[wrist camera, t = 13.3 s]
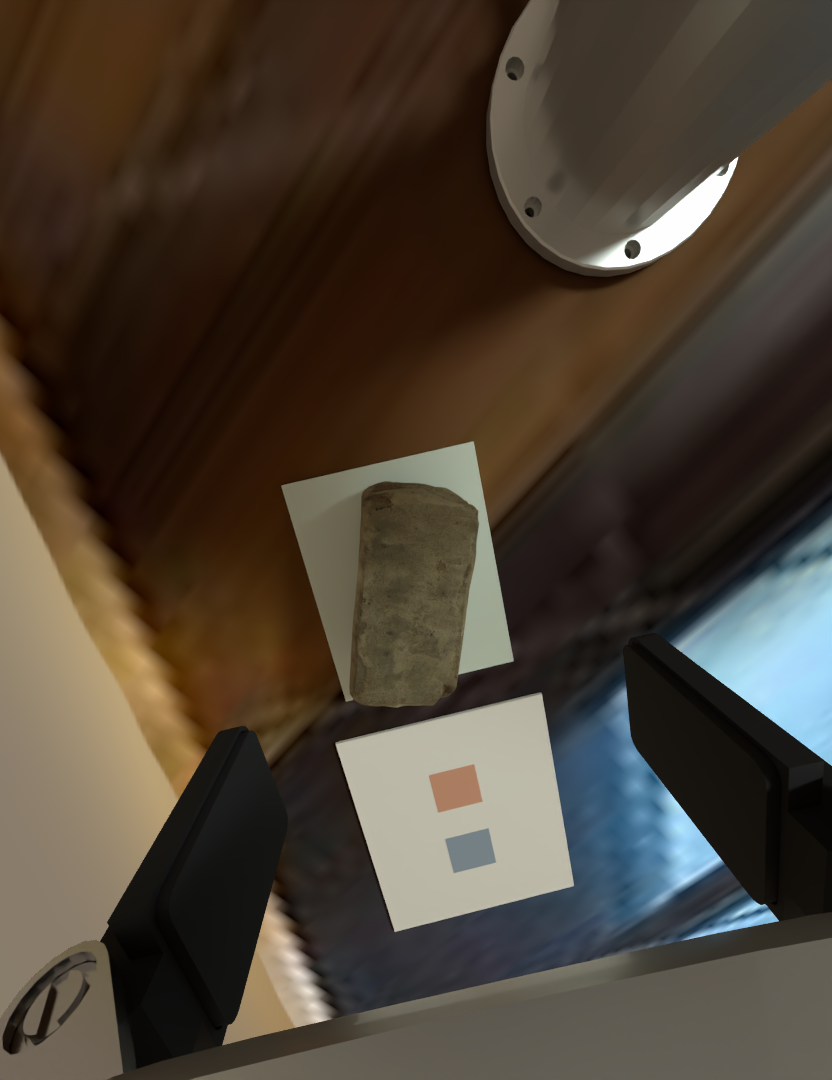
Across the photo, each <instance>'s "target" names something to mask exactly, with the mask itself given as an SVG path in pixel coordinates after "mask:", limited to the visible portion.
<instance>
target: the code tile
mask: <svg viewBox="0 0 832 1080" xmlns="http://www.w3.org/2000/svg"><path fill="white" fill-rule="evenodd" d="M336 747H337V750H338V753H339V757H340V760H341V763H342V766H343V769H344V772H345V776H346V779H347V782H348V785H349V788H350V791H351V795H352V798H353V801H354V804H355V807H356V810H357V814H358V817H359V820H360V823H361V826H362V829H363V833H364V836H365V839H366V842H367V845H368V848H369V852H370V855H371V858H372V861H373V864H374V867H375V871H376V874H377V877H378V880H379V883H380V886H381V889H382V893H383V896H384V899H385V902H386V905H387V908H388V912H389V915H390V918H391V921H392V924H393V927H394V931H395V932H396V931H400V930H404V929H408V928H412V927H416V926H420V925H423V924H427V923H431V922H435V921H439V920H443V919H447V918H451V917H455V916H459V915H462V914H466V913H470V912H474V911H478V910H482V909H486V908H490V907H494V906H498V905H501V904H505V903H509V902H513V901H517V900H521V899H525V898H529V897H533V896H537V895H540V894H544V893H548V892H552V891H556V890H560V889H564V888H568V887H572V886H574V883H573V877H572V871H571V865H570V859H569V853H568V847H567V841H566V835H565V829H564V823H563V817H562V811H561V806H560V800H559V794H558V788H557V782H556V776H555V770H554V764H553V758H552V752H551V746H550V740H549V734H548V728H547V722H546V716H545V710H544V704H543V698H542V693H541V692H539V693H535V694H531V695H527V696H523V697H519V698H515V699H511V700H507V701H502V702H498V703H494V704H490V705H486V706H482V707H478V708H474V709H470V710H466V711H462V712H457V713H453V714H449V715H445V716H441V717H437V718H433V719H429V720H425V721H421V722H417V723H413V724H408V725H404V726H400V727H396V728H392V729H388V730H384V731H380V732H376V733H372V734H368V735H363V736H359V737H355V738H351V739H347V740H343V741H339V742H336Z"/></svg>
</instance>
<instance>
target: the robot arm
mask: <svg viewBox="0 0 832 1080" xmlns="http://www.w3.org/2000/svg"><path fill="white" fill-rule="evenodd" d="M831 79H832V0H530V1H529V2H528V4H527V5H526V7H525V8H524V10H523V11H522V13H521V15H520V16H519V18H518V19H517V21H516V22H515V24H514V25H513V27H512V30H511V32H510V34H509V37H508V39H507V41H506V44H505V46H504V48H503V51H502V53H501V55H500V59H499V62H498V65H497V69H496V72H495V76H494V79H493V83H492V86H491V92H490V98H489V104H488V110H487V116H486V148H487V155H488V161H489V168H490V175H491V178H492V181H493V184H494V187H495V190H496V193H497V196H498V199H499V202H500V204H501V206H502V208H503V209H504V211H505V213H506V215H507V217H508V219H509V221H510V223H511V224H512V226H513V227H514V228H515V230H516V231H517V232H518V233H519V235H520V236H521V237H522V238H523V240H524V241H525V242H526V244H528V245H529V246H530V247H531V248H532V249H533V250H535V251H536V252H537V253H538V254H539V255H541V256H542V257H543V258H544V259H546V260H547V261H549V262H551V263H553V264H555V265H557V266H559V267H560V268H562V269H564V270H567V271H571V272H574V273H578V274H581V275H585V276H600V277H610V276H616V275H622V274H628V273H631V272H634V271H636V270H639V269H642V268H644V267H647V266H649V265H651V264H653V263H654V262H656V261H658V260H659V259H661V258H662V257H664V256H665V255H667V254H669V253H670V252H672V251H673V250H674V249H675V248H677V247H678V246H679V245H681V244H682V243H683V242H684V241H686V240H687V239H688V238H690V237H691V236H692V235H693V234H694V233H695V232H696V230H697V229H698V228H699V227H700V226H701V225H702V224H703V223H704V222H705V220H706V219H707V218H708V217H709V216H710V214H711V213H712V211H713V210H714V208H715V206H716V205H717V203H718V202H719V200H720V199H721V197H722V196H723V194H724V192H725V190H726V188H727V186H728V184H729V182H730V179H731V177H732V175H733V173H734V170H735V168H736V164H737V160H738V157H739V156H740V155H741V154H742V153H743V152H745V151H746V150H747V149H748V148H749V147H751V146H752V145H753V144H754V143H755V142H757V141H758V140H759V139H760V138H761V137H763V136H764V135H765V134H766V133H767V132H769V131H770V130H771V129H772V128H773V127H775V126H776V125H777V124H778V123H779V122H781V121H782V120H783V119H784V118H785V117H787V116H788V115H789V114H790V113H791V112H793V111H794V110H795V109H796V108H797V107H799V106H800V105H801V104H802V103H803V102H805V101H806V100H807V99H808V98H810V97H811V96H812V95H813V94H814V93H816V92H817V91H818V90H819V89H820V88H822V87H823V86H824V85H825V84H826V83H828V82H829V81H830V80H831ZM526 213H529V214H530V216H531V217H529V216H528V215H527V214H526ZM625 255H626V256H625ZM623 654H624V665H625V676H626V687H627V698H628V710H629V721H630V732H631V737H632V740H633V743H634V745H635V747H636V749H637V750H638V752H639V753H640V754H641V756H642V757H643V758H644V759H645V761H646V762H647V763H648V765H649V766H650V767H651V768H652V770H653V771H654V772H655V774H656V775H657V776H658V778H659V779H660V780H661V781H662V783H663V784H664V785H665V787H666V788H667V789H668V790H669V792H670V793H671V794H672V796H673V797H674V798H675V800H676V801H677V802H678V803H679V805H680V806H681V807H682V809H683V810H684V811H685V812H686V814H687V815H688V816H689V818H690V819H691V820H692V822H693V823H694V824H695V825H696V827H697V828H698V829H699V831H700V832H701V833H702V834H703V836H704V837H705V838H706V840H707V841H708V842H709V844H710V845H711V846H712V847H713V849H714V850H715V851H716V853H717V854H718V855H719V856H720V858H721V859H722V860H723V862H724V863H725V864H726V866H727V867H728V868H729V869H730V871H731V872H732V873H733V875H734V876H735V877H736V878H737V880H738V881H739V882H740V884H741V885H742V886H743V888H744V889H745V890H746V891H747V893H748V894H749V895H750V896H751V897H752V899H753V900H754V901H756V902H757V903H758V904H760V905H763V904H766V905H767V906H768V907H769V909H770V910H771V911H772V912H773V914H774V915H775V916H776V918H777V919H778V920H779V921H778V922H773V923H768V924H763V925H758V926H753V927H747V928H742V929H737V930H732V931H727V932H722V933H717V934H712V935H707V936H703V937H698V938H694V939H689V940H684V941H680V942H675V943H671V944H666V945H661V946H657V947H652V948H648V949H643V950H638V951H634V952H629V953H625V954H620V955H615V956H611V957H606V958H602V959H597V960H593V961H588V962H583V963H579V964H574V965H570V966H565V967H561V968H556V969H552V970H547V971H543V972H538V973H534V974H529V975H525V976H520V977H516V978H511V979H507V980H503V981H498V982H494V983H489V984H485V985H480V986H476V987H471V988H467V989H463V990H458V991H454V992H449V993H445V994H440V995H436V996H432V997H427V998H423V999H418V1000H414V1001H409V1002H405V1003H401V1004H396V1005H392V1006H388V1007H383V1008H379V1009H375V1010H370V1011H366V1012H362V1013H357V1014H353V1015H349V1016H344V1017H340V1018H336V1019H331V1020H327V1021H323V1022H319V1023H314V1024H310V1025H306V1026H301V1027H297V1028H293V1029H288V1030H284V1031H280V1032H275V1033H271V1034H267V1035H262V1036H258V1037H255V1038H250V1039H246V1040H242V1041H238V1042H235V1043H231V1044H227V1045H223V1046H222V1044H223V1040H224V1037H225V1033H226V1029H227V1026H228V1025H229V1024H232V1023H233V1022H234V1020H235V1018H236V1016H237V1014H238V1011H239V1007H240V1004H241V1000H242V997H243V993H244V989H245V985H246V981H247V978H248V974H249V970H250V966H251V963H252V959H253V955H254V952H255V948H256V944H257V940H258V937H259V933H260V929H261V925H262V922H263V918H264V914H265V910H266V907H267V903H268V899H269V895H270V892H271V888H272V884H273V880H274V877H275V873H276V869H277V865H278V862H279V858H280V854H281V850H282V847H283V843H284V839H285V835H286V832H287V826H288V817H287V812H286V809H285V807H284V804H283V802H282V799H281V796H280V794H279V791H278V789H277V786H276V784H275V781H274V779H273V776H272V774H271V771H270V768H269V766H268V763H267V761H266V758H265V756H264V753H263V751H262V748H261V746H260V743H259V740H258V738H257V735H256V733H255V732H254V731H252V730H251V731H249V730H248V728H246V727H245V726H240V727H236V728H232V729H227V730H223V731H220V732H219V733H218V734H217V735H216V737H215V739H214V740H213V742H212V744H211V745H210V747H209V749H208V751H207V752H206V754H205V756H204V757H203V759H202V761H201V763H200V764H199V766H198V768H197V769H196V771H195V773H194V775H193V776H192V778H191V780H190V781H189V783H188V785H187V787H186V788H185V790H184V792H183V793H182V795H181V797H180V798H179V800H178V802H177V804H176V805H175V807H174V809H173V810H172V812H171V814H170V816H169V818H168V819H167V821H166V822H165V824H164V826H163V828H162V829H161V831H160V833H159V834H158V836H157V838H156V840H155V841H154V843H153V845H152V846H151V848H150V850H149V852H148V853H147V855H146V857H145V858H144V860H143V862H142V864H141V865H140V867H139V869H138V871H137V872H136V874H135V875H134V877H133V879H132V881H131V883H130V884H129V886H128V887H127V889H126V891H125V893H124V894H123V896H122V898H121V899H120V901H119V903H118V905H117V906H116V908H115V910H114V912H113V913H112V915H111V917H110V919H109V920H108V922H107V923H108V925H109V927H108V929H107V930H106V932H105V934H104V936H103V937H102V939H101V941H100V942H99V941H97V940H93V941H85V942H82V943H80V944H77V945H75V946H73V947H70V948H68V949H67V950H66V951H64V952H63V953H61V954H60V955H58V956H57V957H55V958H54V959H52V960H51V961H50V962H49V963H48V964H46V965H45V966H44V967H43V968H42V969H41V970H40V971H39V972H38V973H36V974H35V975H34V976H33V977H32V978H31V979H30V981H29V982H28V983H27V984H26V985H25V986H24V987H23V988H22V989H21V991H19V993H18V994H17V995H16V997H15V998H14V999H13V1001H12V1002H11V1004H10V1005H9V1006H8V1008H7V1009H6V1010H5V1012H4V1013H3V1015H2V1017H1V1019H0V1080H832V766H831V765H830V764H828V763H827V762H826V761H824V760H823V759H822V758H820V757H819V756H818V755H816V754H815V753H814V752H812V751H811V750H810V749H809V748H807V747H806V746H805V745H803V744H802V743H801V742H799V741H798V740H797V739H795V738H794V737H793V736H791V735H790V734H789V733H787V732H786V731H785V730H783V729H782V728H781V727H779V726H778V725H777V724H776V723H774V722H773V721H772V720H770V719H769V718H768V717H766V716H765V715H764V714H762V713H761V712H760V711H758V710H757V709H756V708H754V707H753V706H752V705H750V704H749V703H748V702H746V701H745V700H744V699H742V698H741V697H740V696H739V695H737V694H736V693H735V692H733V691H732V690H731V689H729V688H728V687H727V686H725V685H724V684H722V683H721V682H720V681H719V680H717V679H716V678H715V677H713V676H712V675H711V674H709V673H708V672H707V671H705V670H704V669H703V668H701V667H700V666H699V665H697V664H696V663H695V662H693V661H692V660H691V659H689V658H688V657H687V656H686V655H684V654H683V653H682V652H680V651H679V650H678V649H676V648H675V647H674V646H672V645H671V644H670V643H668V642H667V641H666V640H664V639H663V638H662V637H660V636H659V635H657V634H656V633H651V634H647V635H642V636H638V637H633V638H631V639H630V640H629V645H626V646H624V648H623Z"/></svg>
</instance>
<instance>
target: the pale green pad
mask: <svg viewBox="0 0 832 1080" xmlns="http://www.w3.org/2000/svg"><path fill="white" fill-rule="evenodd" d="M384 481H389V482H401V483H421V484H427V485H431V486H434V487H444V488H447V489H449V490H451V491H453V492H454V493H456V494H457V495H459V496H460V497H461V498H463V499H464V500H465V501H467V502H468V504H471V505H473V506H474V507H475V508H476V509H477V510H478V521H479V528H478V535H477V543H476V559H475V566H474V570H473V575H472V580H471V584H470V589H469V597H468V605H467V611H466V620H465V628H464V636H463V644H462V651H461V658H460V665H459V672H458V674H462V673H466V672H471V671H475V670H479V669H483V668H487V667H491V666H495V665H499V664H504V663H508V662H512V661H514V660H513V655H512V649H511V644H510V639H509V633H508V628H507V622H506V617H505V611H504V606H503V600H502V595H501V589H500V584H499V578H498V573H497V567H496V562H495V556H494V551H493V545H492V540H491V534H490V529H489V523H488V518H487V513H486V507H485V502H484V496H483V491H482V485H481V480H480V474H479V469H478V463H477V458H476V452H475V447H474V442H468V443H464V444H460V445H455V446H451V447H447V448H442V449H438V450H434V451H429V452H425V453H420V454H416V455H412V456H407V457H403V458H399V459H394V460H390V461H385V462H381V463H377V464H372V465H368V466H364V467H359V468H355V469H351V470H346V471H342V472H337V473H333V474H329V475H324V476H320V477H316V478H311V479H307V480H302V481H298V482H294V483H289V484H285V485H281V487H282V490H283V494H284V497H285V500H286V504H287V507H288V510H289V514H290V517H291V520H292V524H293V527H294V530H295V534H296V537H297V540H298V544H299V547H300V550H301V554H302V557H303V560H304V564H305V567H306V570H307V574H308V577H309V580H310V584H311V587H312V590H313V594H314V597H315V600H316V604H317V607H318V610H319V614H320V617H321V620H322V624H323V627H324V630H325V634H326V637H327V640H328V644H329V647H330V650H331V654H332V657H333V660H334V664H335V667H336V670H337V674H338V677H339V680H340V684H341V687H342V690H343V694H344V697H345V700H346V702H347V701H351V700H353V698H352V696H351V695H350V689H349V684H350V664H351V645H352V628H353V614H354V607H355V597H356V585H357V577H358V559H359V544H360V524H361V496H362V492H363V491H364V490H365V489H366V488H368V487H369V486H372V485H374V484H377V483H380V482H384Z"/></svg>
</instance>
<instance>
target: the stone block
mask: <svg viewBox="0 0 832 1080" xmlns="http://www.w3.org/2000/svg"><path fill="white" fill-rule="evenodd" d="M478 528H479V521H478V510H477V509H476V508H475V507H474V506H473V505H471V504H468V502H467V501H465V500H464V499H463V498H461V497H460V496H459V495H457V494H456V493H454V492H453V491H451V490H449V489H447V488H444V487H434V486H431V485H427V484H421V483H401V482H389V481H384V482H380V483H377V484H374V485H372V486H369V487H368V488H366V489H365V490H364V491H363V492H362V496H361V524H360V544H359V559H358V577H357V585H356V597H355V607H354V614H353V628H352V645H351V664H350V684H349V689H350V695H351V696H352V698H353V700H355V701H356V702H358V703H360V704H363V705H368V706H388V707H401V706H408V705H411V706H420V705H434V704H435V703H436V702H437V701H438V700H439V699H440V698H442V697H447V696H449V695H450V694H451V693H453V692H454V690H455V689H456V685H457V679H458V672H459V665H460V658H461V651H462V644H463V636H464V628H465V620H466V611H467V605H468V597H469V589H470V584H471V580H472V575H473V570H474V566H475V559H476V543H477V535H478Z"/></svg>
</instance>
